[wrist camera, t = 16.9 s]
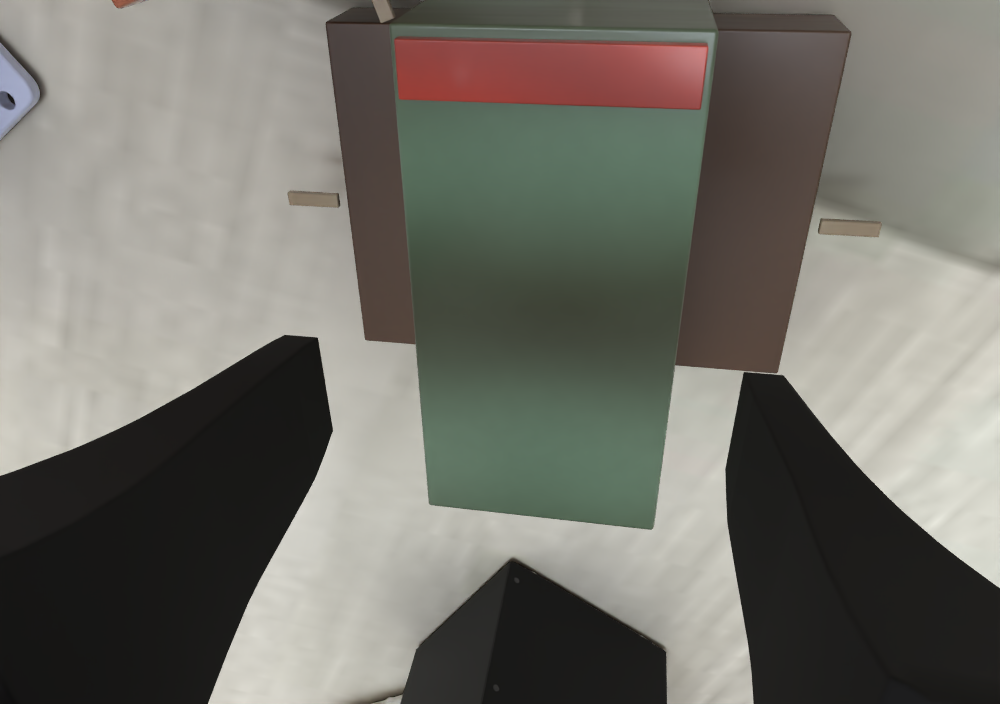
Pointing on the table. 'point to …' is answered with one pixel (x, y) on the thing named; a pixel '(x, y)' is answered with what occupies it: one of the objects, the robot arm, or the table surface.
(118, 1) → the orange rectangular box
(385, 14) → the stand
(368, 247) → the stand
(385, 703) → the sitting furry creature
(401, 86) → the green and red block
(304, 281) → the table surface
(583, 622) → the tall black block
